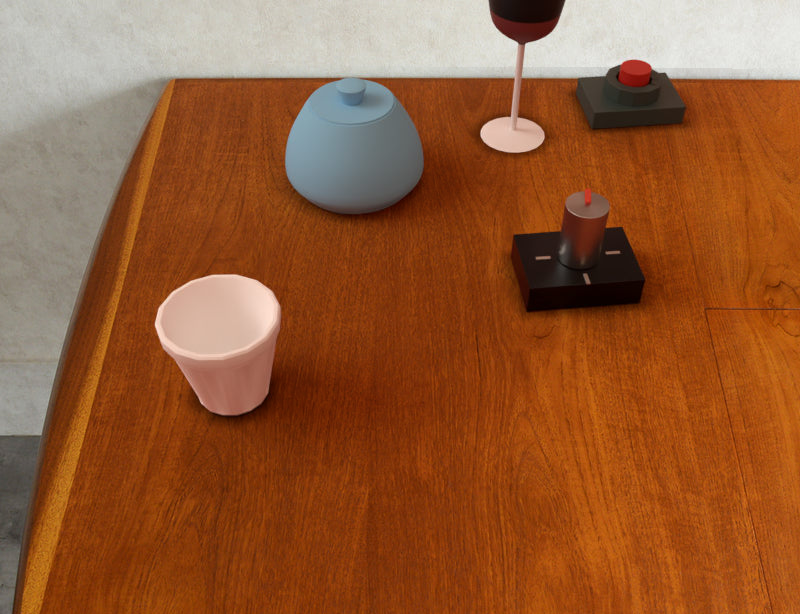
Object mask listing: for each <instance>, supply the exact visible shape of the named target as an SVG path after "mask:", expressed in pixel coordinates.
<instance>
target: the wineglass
mask: <svg viewBox="0 0 800 614" xmlns="http://www.w3.org/2000/svg"><path fill="white" fill-rule="evenodd" d="M565 4H566V0H488V8H489V9H488V10H489V14H490V18H491V21H492V23H493V25H494V27H495V29H497V30H498V31H499V33H501V34H502V35H504V36H505V37H506V38H508V39H510V40H511V41H514V42H516V43H517V51H516V62H515V73H514V82H513V93H512V103H511V110H510V111H511V113H510V116H503V117H497V118H494V119H492V120H489V121H487V122H486V123H485V124H483V126H482V128H481V129H480V138H481V140H482V141H483V143H484V144H486V145H487V146H488V147H490V148H492V149H494V150H497V151H500V152H504V153H513V154H514V153H515V154H516V153H525V152H530V151H532V150H535V149H537V148H538V147H539V146H541V145H542V144H543V142H544V140H545V139H546V137H545V131H544V130H543V129H542V127H541V126H540V125H538V123H536V122H534V121H532V120H530V119H526V118H523V117H518V116H519V107H520V98H521V97H520V96H521V88H522V79H523V69H524V59H525V50H526V44H528V43H532V42H536V41H539V40H541V39H543V38H546V37H547V36H548V35H550V34H551V33H552V32H553V31H554V30H555V28H556V27H557V26H558V23H559V21H560V18H561V16H562V12H563V9H564V7H565Z"/></svg>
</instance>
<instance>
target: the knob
mask: <svg viewBox="0 0 800 614" xmlns="http://www.w3.org/2000/svg"><path fill="white" fill-rule="evenodd" d="M610 205H611V204H610V201H609V200H608V199H607V198H606V197H605V196H603V195H601V194H600V193H596V192H594V191H592V189H591V188H585V189H584V191H576V192H574V193H572V194H570V195H569V196H567V197H566V199H565V203H564V207H563V208H564V209H563V215H562V221H561V227H560V231H561V232H560V238H559V245H558V251H557V257H558V259H559V261H560V262H561V263H562V264H564V265H565V266H567V267H570V268H573V269H588V268H591V267H593V266H594V265H596V264H597V262H598V261H599V257H600V252H601V247H602V243H603V238H604V233H605V229H606V228H607V225H608V219H609V214H610V210H611V206H610Z"/></svg>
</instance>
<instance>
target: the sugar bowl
mask: <svg viewBox="0 0 800 614" xmlns="http://www.w3.org/2000/svg"><path fill="white" fill-rule="evenodd" d="M284 158H285V159H284V163H285V172H286V177H287V179H288V181H289V183H290V184H291V186H292V187H293V189H294V190H296V191H297V193H298V194H299V195H301V197H303V198H305V199H306V200H307V201H308V202H310V203H311V204H313V205H315V206H317V207H318V208H321V209H322V210H326V211H327V212H328V211H329V212H332V213H335V214H336V213H337V214H344V215H363V214H370V213H375V212H378V211H383V210H385V209H388V208H390V207H392V206H394V205H395V204H396V203H398V202H400V201H401V200H402V199H404V198H405V197H406V196H407V195H409V194H410V192H412V191H413V189H414V188H415V187H416V186H417V185H418V183H419V181H420V180H421V177H422V175H423V172H424V167H425V163H424V162H425V161H424V160H425V159H424V158H425V157H424V150H423V146H422V141H421V138H420V135H419V132H418V130H417V127H416V125H415V123H414V122H413V120H412V118H411V116H410V115H409V113H408V111H407V110H406V109H405V107H404V106H403V104H402V103H401V101H399V99H398V98H397V96H395V94H394V93H393V92H392V91H391V90H390V89H389V88H388V87H385V86H384V85H383V84H380V83H378V82H375V81H372V80H367V79H363V78H359V77H344V78H342V79H340V80H335V81H331V82H328V83H326V84H323V85H322V86H320V87H318V88H317V89H316V90H315V91H313V92H312V93H311V95H309V97H308V98H307V100H306V101H305V102H304V104H303V106H302V107H301V109H300V111H299V113H298V115H297V116H296V117H295V120H294V122H293V124H292V126H291V128H290V132H289V134H288V137H287V143H286V147H285V157H284Z"/></svg>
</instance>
